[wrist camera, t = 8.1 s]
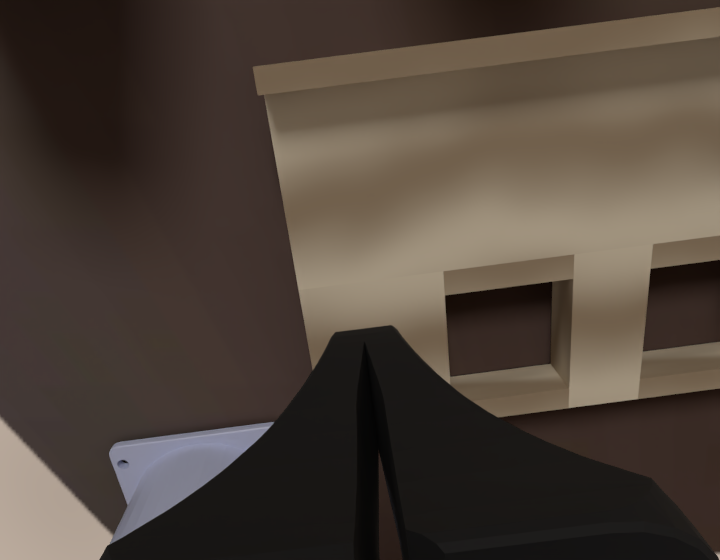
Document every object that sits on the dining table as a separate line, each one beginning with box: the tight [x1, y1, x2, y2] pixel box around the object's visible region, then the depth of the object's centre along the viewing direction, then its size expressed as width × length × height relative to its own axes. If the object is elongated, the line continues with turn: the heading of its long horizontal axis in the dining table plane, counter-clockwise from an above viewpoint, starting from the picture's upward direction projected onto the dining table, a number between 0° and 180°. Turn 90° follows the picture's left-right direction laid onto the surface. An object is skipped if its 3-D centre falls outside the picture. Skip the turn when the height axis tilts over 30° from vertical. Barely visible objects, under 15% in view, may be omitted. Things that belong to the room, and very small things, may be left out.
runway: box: [253, 7, 720, 417], centre depth 20 cm, size 16×24×4 cm, turn 97°
